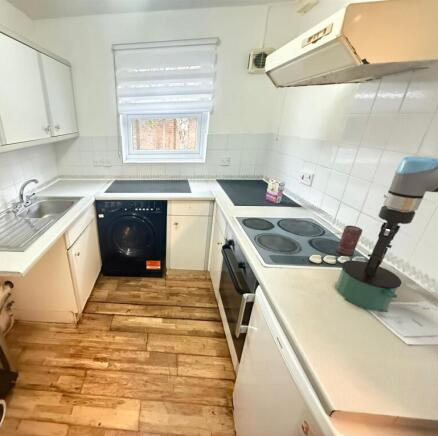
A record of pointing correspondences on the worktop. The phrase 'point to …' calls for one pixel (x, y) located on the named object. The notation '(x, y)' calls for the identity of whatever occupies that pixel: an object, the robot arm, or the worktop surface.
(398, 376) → the worktop surface
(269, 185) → the candy bar box
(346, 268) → the lid
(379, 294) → the pot
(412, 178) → the robot arm
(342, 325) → the worktop surface
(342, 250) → the can
